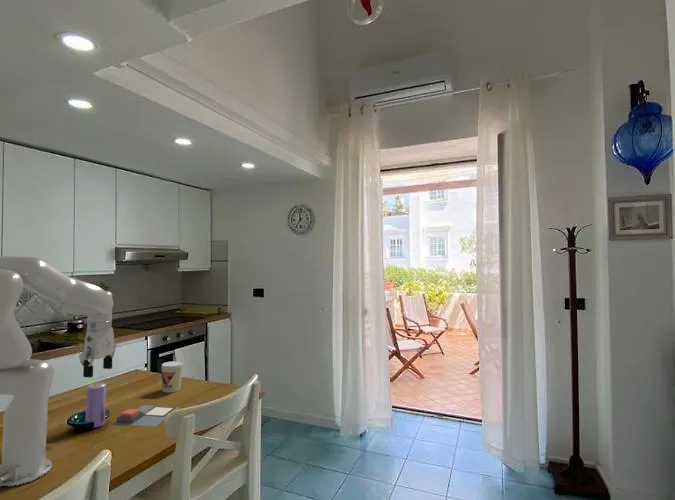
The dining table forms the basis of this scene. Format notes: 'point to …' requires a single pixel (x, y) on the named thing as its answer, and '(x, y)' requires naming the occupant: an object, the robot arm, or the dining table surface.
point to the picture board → (147, 416)
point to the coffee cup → (171, 376)
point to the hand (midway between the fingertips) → (98, 372)
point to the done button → (130, 413)
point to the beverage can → (96, 404)
